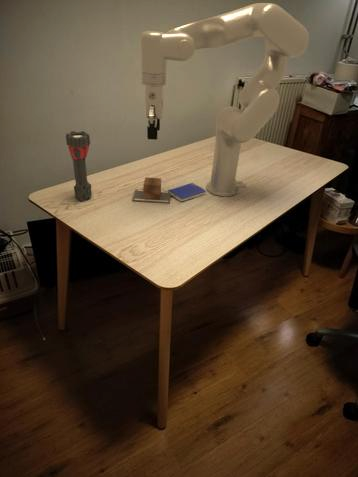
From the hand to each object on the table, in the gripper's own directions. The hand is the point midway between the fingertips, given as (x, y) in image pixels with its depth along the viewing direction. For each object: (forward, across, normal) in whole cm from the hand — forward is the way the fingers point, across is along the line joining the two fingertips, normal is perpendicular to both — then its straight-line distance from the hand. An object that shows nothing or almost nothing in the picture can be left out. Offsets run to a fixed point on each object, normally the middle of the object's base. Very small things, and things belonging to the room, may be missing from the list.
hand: (153, 134), depth 111 cm
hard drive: (+24, +4, -12) cm, 27 cm away
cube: (+23, 0, 0) cm, 23 cm away
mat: (+24, 0, 0) cm, 24 cm away
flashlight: (+24, -3, +25) cm, 35 cm away
